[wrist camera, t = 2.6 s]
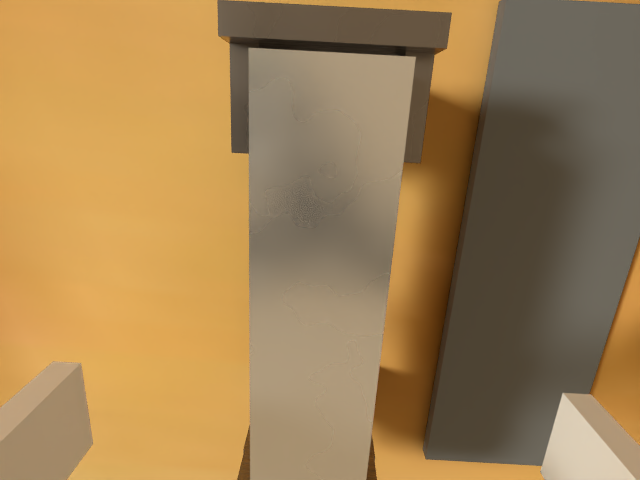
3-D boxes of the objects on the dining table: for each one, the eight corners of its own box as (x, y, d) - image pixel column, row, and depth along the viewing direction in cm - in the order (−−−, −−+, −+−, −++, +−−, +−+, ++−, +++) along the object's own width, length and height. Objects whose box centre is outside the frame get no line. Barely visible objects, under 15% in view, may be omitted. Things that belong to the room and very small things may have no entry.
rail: (275, 69, 12) (248, 47, 8) (385, 76, 12) (415, 57, 8) (268, 493, 18) (250, 611, 14) (344, 498, 18) (349, 618, 14)
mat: (499, 2, 18) (506, -4, 17) (696, 12, 18) (712, 8, 17) (422, 449, 26) (425, 459, 25) (558, 456, 26) (565, 467, 25)
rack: (268, 49, 19) (213, -10, 10) (394, 56, 19) (456, 3, 10) (264, 409, 25) (229, 575, 16) (358, 414, 25) (375, 583, 16)
